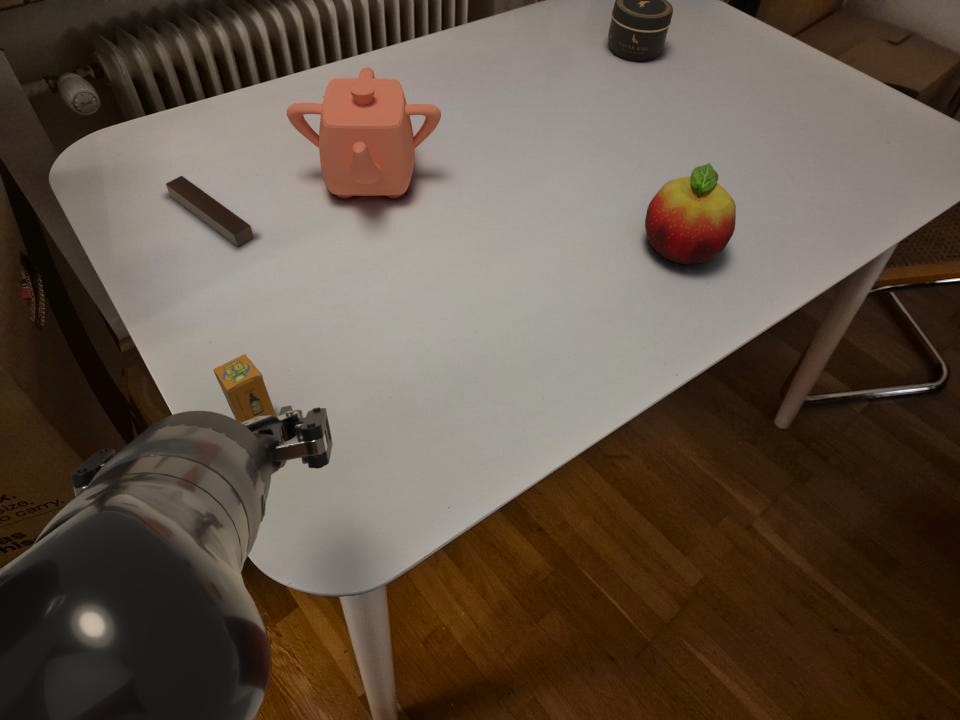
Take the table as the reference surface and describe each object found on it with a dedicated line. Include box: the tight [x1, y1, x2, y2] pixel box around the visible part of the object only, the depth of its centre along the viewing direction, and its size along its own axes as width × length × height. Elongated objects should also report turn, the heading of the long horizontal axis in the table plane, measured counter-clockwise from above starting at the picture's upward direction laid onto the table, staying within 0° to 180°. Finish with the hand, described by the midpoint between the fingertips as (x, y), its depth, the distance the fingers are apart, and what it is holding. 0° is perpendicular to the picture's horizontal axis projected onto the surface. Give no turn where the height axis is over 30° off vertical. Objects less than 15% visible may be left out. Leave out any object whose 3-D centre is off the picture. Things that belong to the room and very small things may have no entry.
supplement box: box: [213, 353, 283, 437], centre depth 61 cm, size 3×3×10 cm
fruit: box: [644, 162, 737, 265], centre depth 82 cm, size 11×11×10 cm
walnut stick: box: [165, 175, 255, 248], centre depth 83 cm, size 2×14×2 cm, turn 50°
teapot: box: [286, 67, 442, 199], centre depth 85 cm, size 17×16×13 cm
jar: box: [607, 0, 674, 62], centre depth 114 cm, size 10×10×8 cm
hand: (228, 431), depth 48 cm, fingers open, 8 cm apart
